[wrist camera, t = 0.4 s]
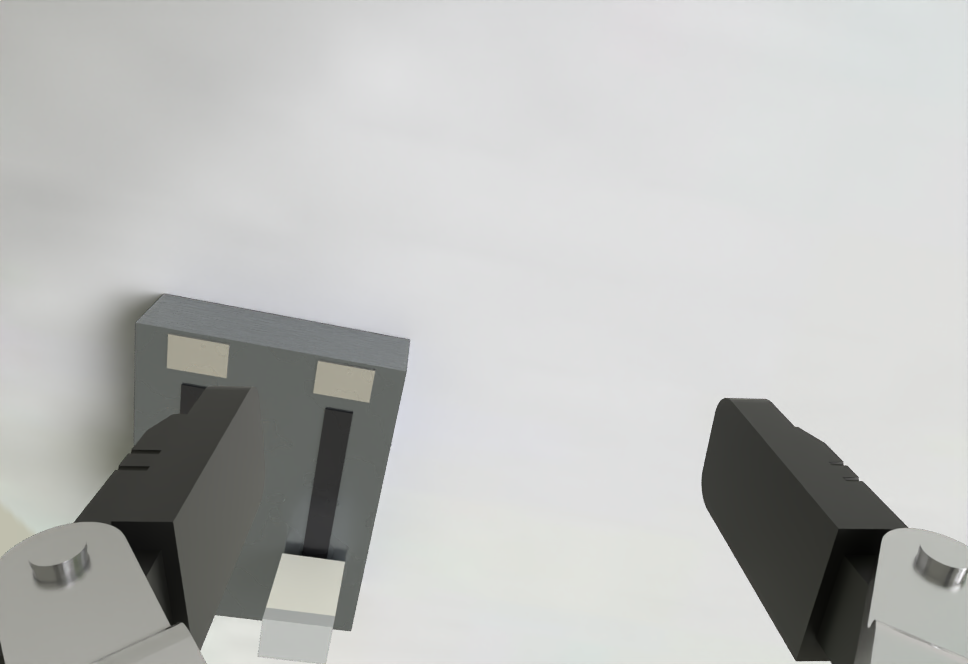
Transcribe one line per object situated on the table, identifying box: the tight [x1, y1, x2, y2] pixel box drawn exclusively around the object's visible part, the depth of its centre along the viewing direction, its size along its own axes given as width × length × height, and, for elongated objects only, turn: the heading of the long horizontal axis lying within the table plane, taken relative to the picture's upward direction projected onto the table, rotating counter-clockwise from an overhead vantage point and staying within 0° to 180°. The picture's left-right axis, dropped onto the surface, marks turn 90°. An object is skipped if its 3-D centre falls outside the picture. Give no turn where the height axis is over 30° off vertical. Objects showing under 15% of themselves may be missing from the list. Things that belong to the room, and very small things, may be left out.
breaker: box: [258, 553, 345, 664], centre depth 31 cm, size 2×3×4 cm
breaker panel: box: [134, 294, 410, 631], centre depth 32 cm, size 16×11×3 cm
